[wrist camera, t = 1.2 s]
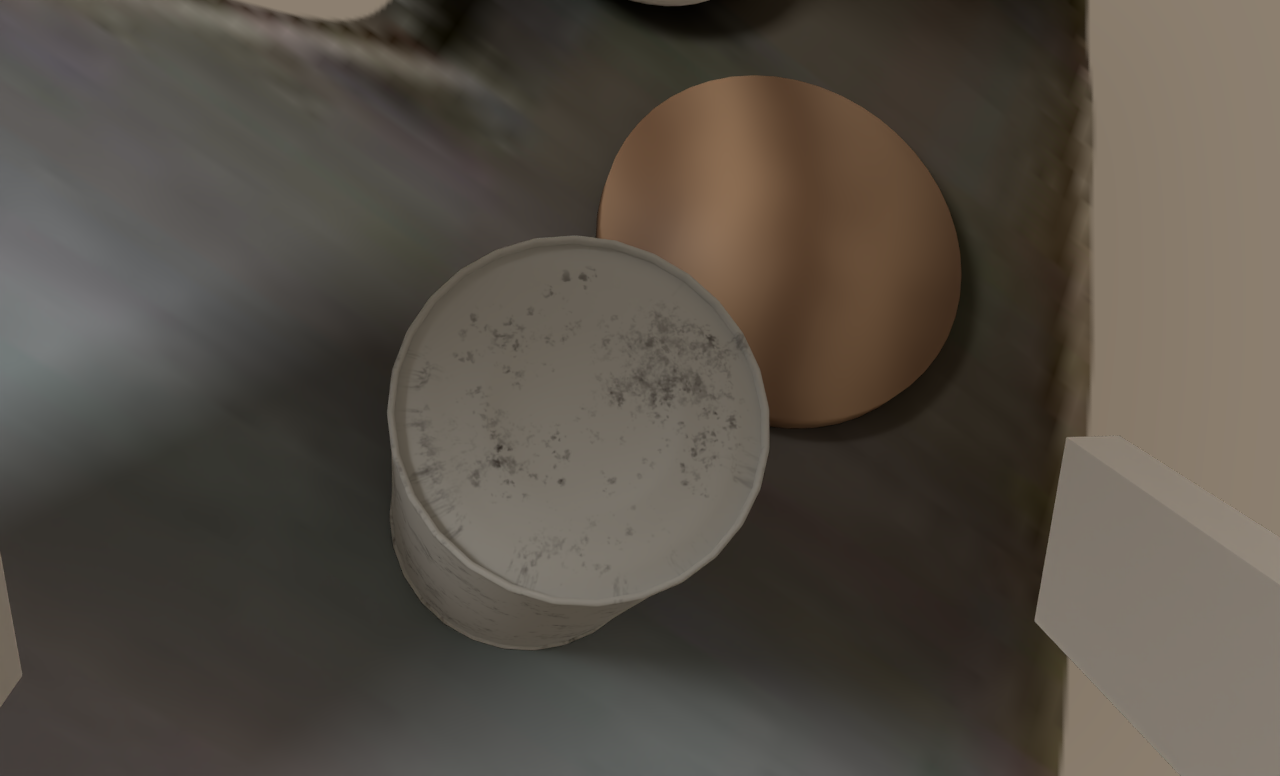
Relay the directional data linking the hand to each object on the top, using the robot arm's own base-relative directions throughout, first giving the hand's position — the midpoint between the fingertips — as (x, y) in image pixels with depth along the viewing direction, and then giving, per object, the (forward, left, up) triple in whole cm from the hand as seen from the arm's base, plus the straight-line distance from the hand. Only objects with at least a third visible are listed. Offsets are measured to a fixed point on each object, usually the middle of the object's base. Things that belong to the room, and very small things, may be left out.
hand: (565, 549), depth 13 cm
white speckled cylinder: (+2, +6, -24) cm, 25 cm away
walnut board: (+12, +16, -24) cm, 31 cm away
